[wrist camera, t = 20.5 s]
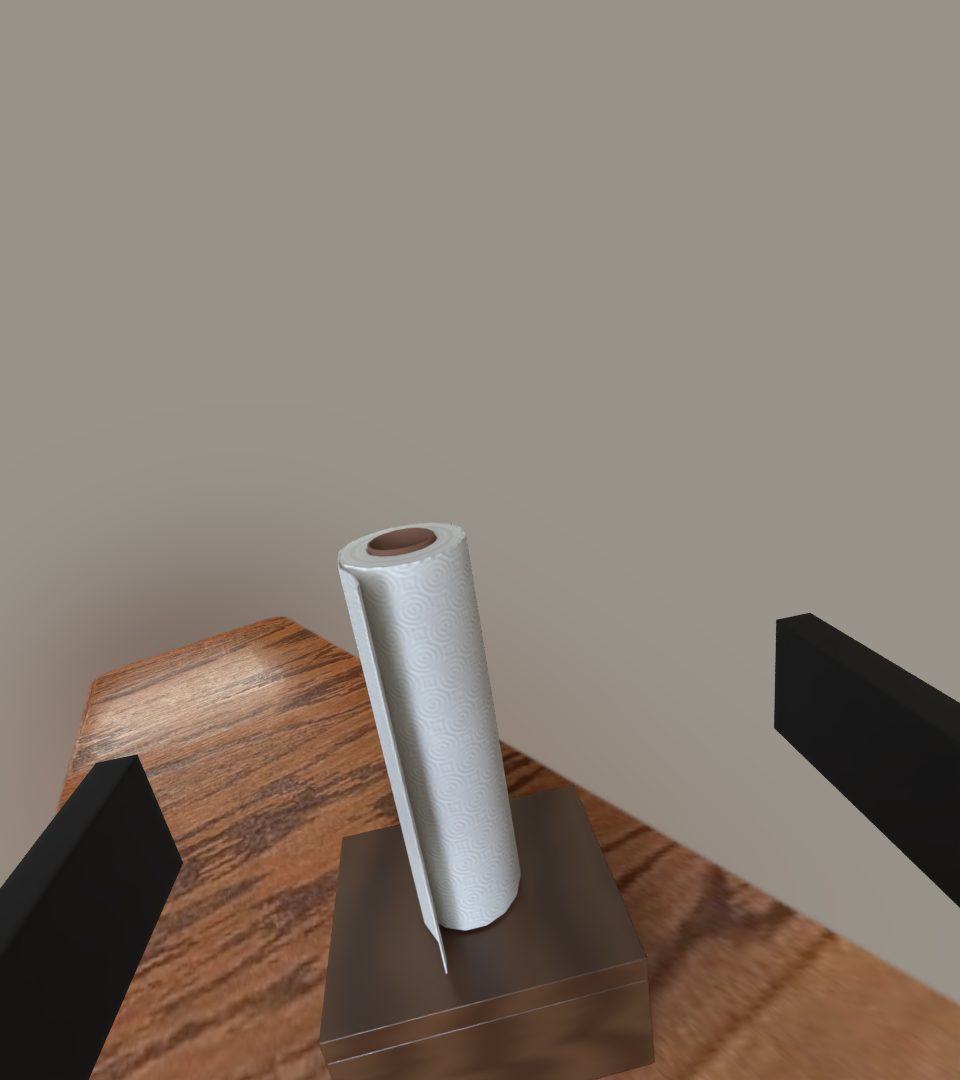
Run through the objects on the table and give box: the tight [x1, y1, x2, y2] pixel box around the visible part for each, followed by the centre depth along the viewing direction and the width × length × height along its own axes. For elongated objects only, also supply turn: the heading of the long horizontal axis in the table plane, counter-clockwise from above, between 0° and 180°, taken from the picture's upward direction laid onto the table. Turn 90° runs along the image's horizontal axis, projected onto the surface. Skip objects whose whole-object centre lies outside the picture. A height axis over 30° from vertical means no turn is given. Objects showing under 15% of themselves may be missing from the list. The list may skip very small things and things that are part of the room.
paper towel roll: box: [338, 523, 521, 973], centre depth 29 cm, size 7×6×21 cm
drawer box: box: [319, 785, 655, 1080], centre depth 33 cm, size 16×12×8 cm
